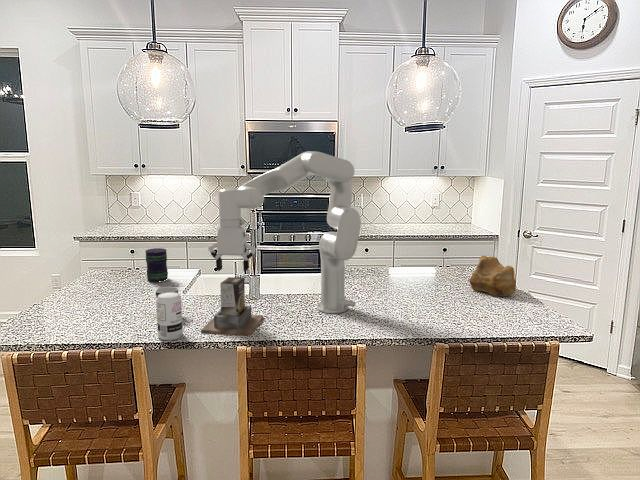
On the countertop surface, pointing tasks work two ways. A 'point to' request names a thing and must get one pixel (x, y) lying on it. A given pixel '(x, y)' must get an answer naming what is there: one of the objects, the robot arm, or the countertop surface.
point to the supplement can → (169, 316)
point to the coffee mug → (166, 290)
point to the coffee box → (232, 296)
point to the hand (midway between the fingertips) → (232, 270)
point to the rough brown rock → (493, 277)
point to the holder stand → (233, 323)
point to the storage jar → (156, 264)
